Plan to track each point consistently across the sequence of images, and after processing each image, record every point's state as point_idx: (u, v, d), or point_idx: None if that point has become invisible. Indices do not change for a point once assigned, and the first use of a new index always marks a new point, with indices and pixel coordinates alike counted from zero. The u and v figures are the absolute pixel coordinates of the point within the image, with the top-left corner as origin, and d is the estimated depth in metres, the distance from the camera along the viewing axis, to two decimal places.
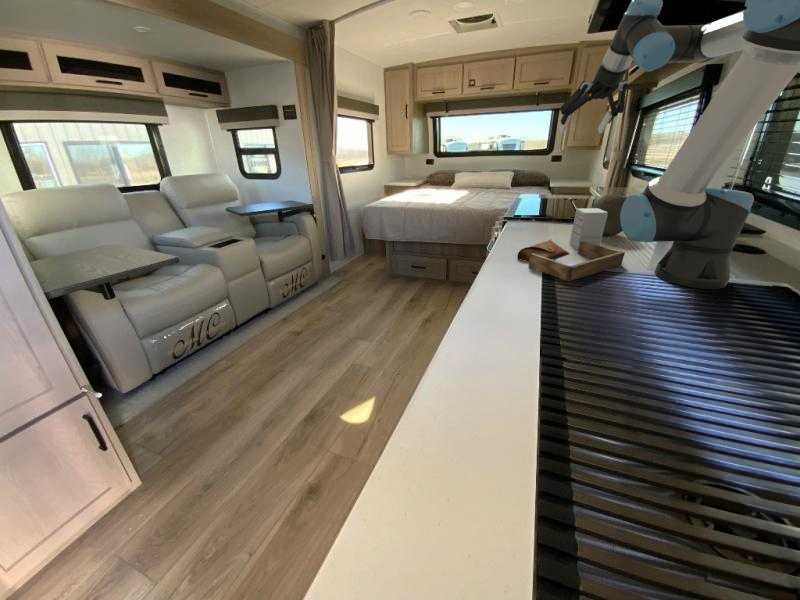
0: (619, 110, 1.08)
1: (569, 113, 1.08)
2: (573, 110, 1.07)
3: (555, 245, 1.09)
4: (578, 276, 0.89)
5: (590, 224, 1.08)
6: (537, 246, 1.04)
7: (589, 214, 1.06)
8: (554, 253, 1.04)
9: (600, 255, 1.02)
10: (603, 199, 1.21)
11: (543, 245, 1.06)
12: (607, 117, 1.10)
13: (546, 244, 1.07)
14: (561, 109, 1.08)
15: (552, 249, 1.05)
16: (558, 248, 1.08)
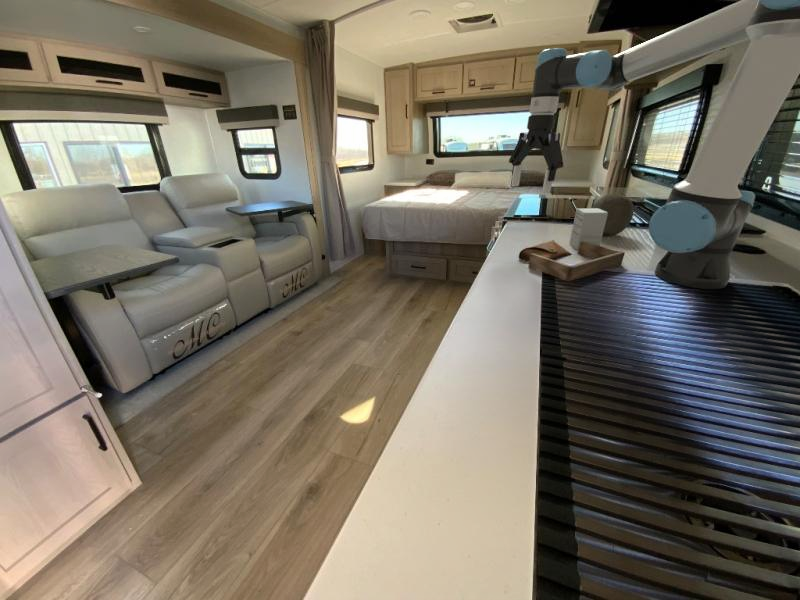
0: None
1: None
2: None
3: (557, 246, 1.08)
4: (578, 276, 0.89)
5: (590, 224, 1.08)
6: (539, 246, 1.04)
7: (589, 214, 1.06)
8: (556, 254, 1.04)
9: (600, 255, 1.02)
10: (603, 199, 1.21)
11: (545, 245, 1.05)
12: (519, 169, 1.10)
13: (548, 244, 1.06)
14: (559, 165, 0.96)
15: (554, 250, 1.04)
16: (560, 249, 1.07)
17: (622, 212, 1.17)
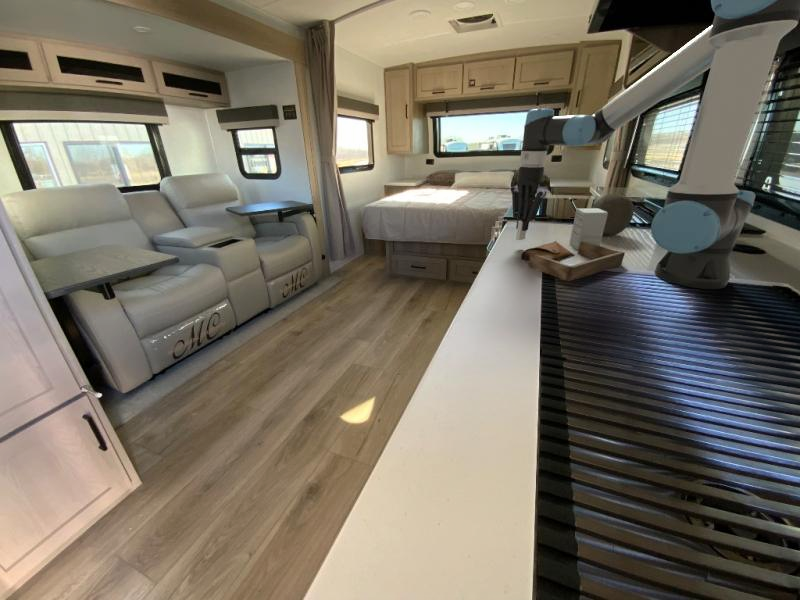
0: None
1: None
2: None
3: (560, 246, 1.08)
4: (578, 276, 0.89)
5: (590, 224, 1.08)
6: (541, 247, 1.03)
7: (589, 214, 1.06)
8: (559, 254, 1.03)
9: (600, 255, 1.02)
10: (603, 199, 1.21)
11: (548, 246, 1.05)
12: None
13: (551, 245, 1.06)
14: (532, 217, 1.08)
15: (557, 250, 1.04)
16: (563, 249, 1.06)
17: (622, 212, 1.17)
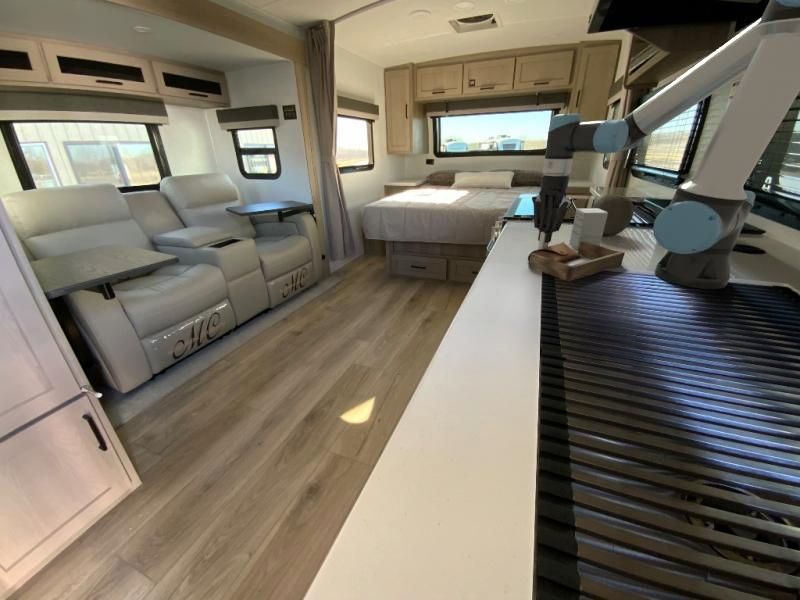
0: None
1: None
2: None
3: (568, 248, 1.06)
4: (578, 276, 0.89)
5: (590, 224, 1.08)
6: (549, 248, 1.01)
7: (589, 214, 1.06)
8: (566, 256, 1.01)
9: (600, 255, 1.02)
10: (603, 199, 1.21)
11: (555, 248, 1.03)
12: None
13: (558, 247, 1.04)
14: (556, 229, 1.01)
15: (564, 252, 1.02)
16: (571, 251, 1.04)
17: (622, 212, 1.17)
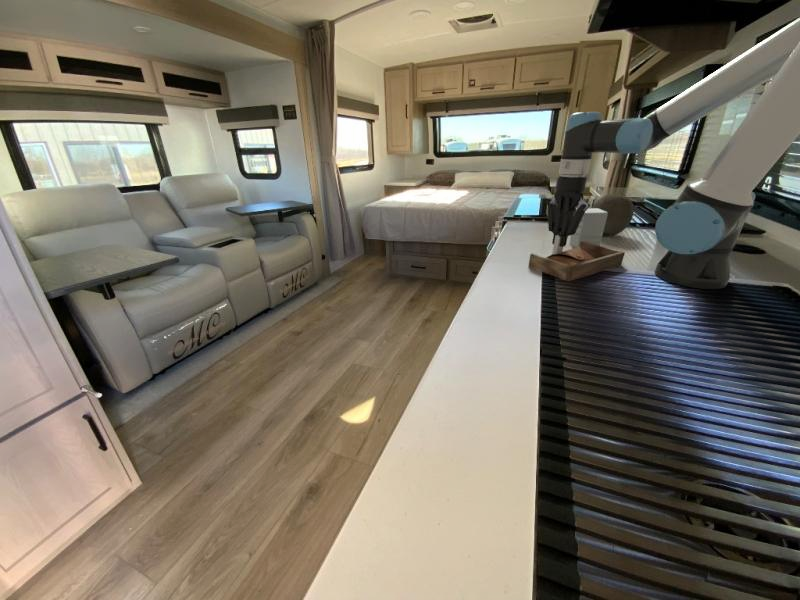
0: None
1: None
2: None
3: (584, 252, 1.02)
4: (578, 276, 0.89)
5: (590, 224, 1.08)
6: (565, 253, 0.98)
7: (589, 214, 1.06)
8: (583, 261, 0.97)
9: (600, 255, 1.02)
10: (603, 199, 1.21)
11: (571, 252, 0.99)
12: None
13: (575, 251, 1.00)
14: (571, 232, 0.97)
15: (581, 257, 0.98)
16: (588, 256, 1.00)
17: (622, 212, 1.17)
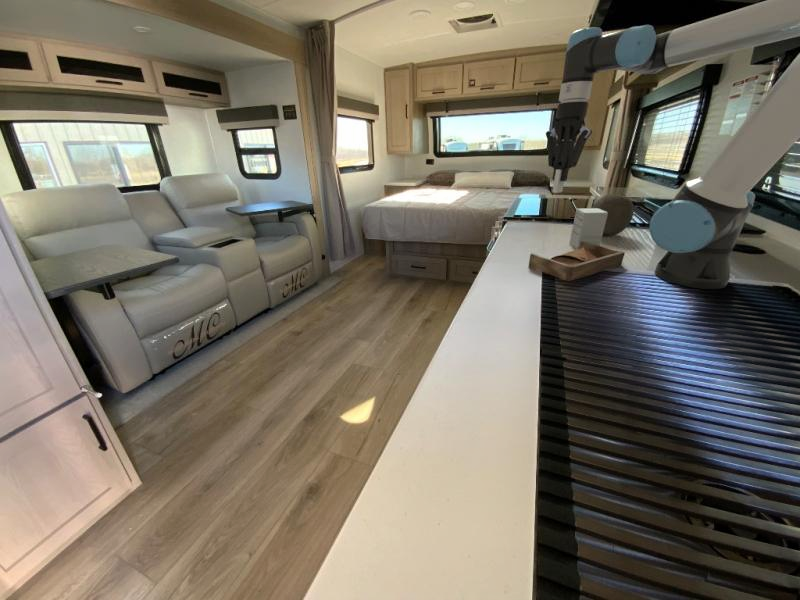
0: None
1: None
2: None
3: (588, 253, 1.01)
4: (578, 276, 0.89)
5: (590, 224, 1.08)
6: (569, 254, 0.97)
7: (589, 214, 1.06)
8: None
9: (600, 255, 1.02)
10: (603, 199, 1.21)
11: (575, 253, 0.98)
12: None
13: (579, 252, 0.99)
14: (573, 164, 0.94)
15: (585, 258, 0.97)
16: (592, 257, 0.99)
17: (622, 212, 1.17)
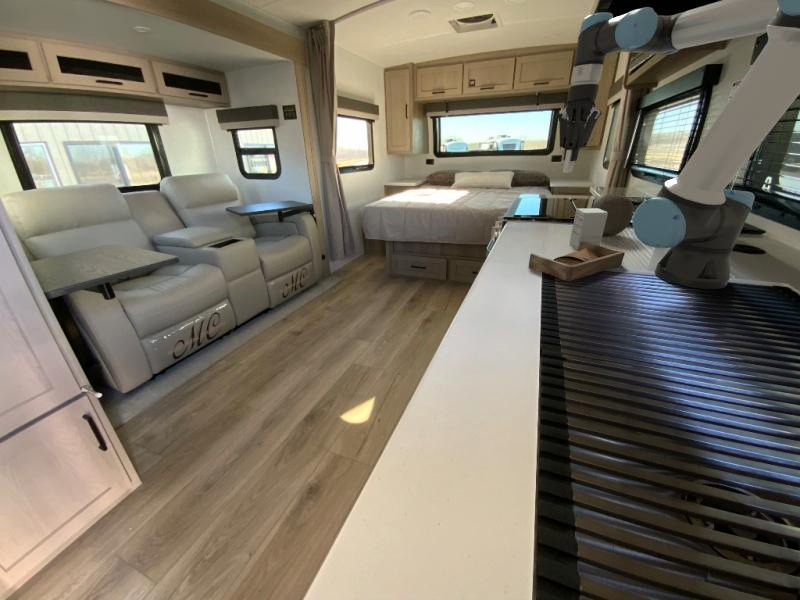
0: None
1: None
2: None
3: (591, 254, 1.00)
4: (578, 276, 0.89)
5: (590, 224, 1.08)
6: (572, 255, 0.96)
7: (589, 214, 1.06)
8: None
9: (600, 255, 1.02)
10: (603, 199, 1.21)
11: (578, 254, 0.97)
12: None
13: (581, 253, 0.98)
14: (583, 144, 0.99)
15: (588, 259, 0.96)
16: (594, 258, 0.99)
17: (622, 212, 1.17)
